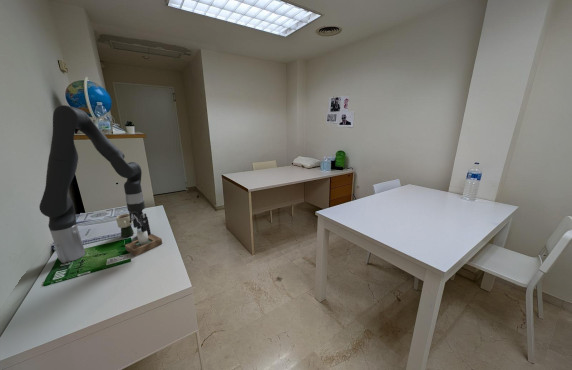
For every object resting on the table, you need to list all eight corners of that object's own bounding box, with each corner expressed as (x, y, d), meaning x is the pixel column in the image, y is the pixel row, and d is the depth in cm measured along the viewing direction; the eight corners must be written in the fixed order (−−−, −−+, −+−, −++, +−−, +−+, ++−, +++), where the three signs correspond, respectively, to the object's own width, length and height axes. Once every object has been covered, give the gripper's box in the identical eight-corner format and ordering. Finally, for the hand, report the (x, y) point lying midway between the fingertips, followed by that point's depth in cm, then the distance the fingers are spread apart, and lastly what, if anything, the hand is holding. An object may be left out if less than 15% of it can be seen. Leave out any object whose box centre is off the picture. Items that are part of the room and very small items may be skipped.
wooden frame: (135, 256, 108) (134, 250, 108) (126, 250, 113) (124, 245, 112) (162, 243, 120) (161, 238, 119) (152, 238, 125) (152, 233, 124)
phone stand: (138, 234, 129) (134, 217, 126) (150, 231, 133) (146, 214, 129) (139, 241, 122) (135, 222, 119) (151, 237, 126) (148, 219, 123)
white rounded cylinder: (141, 246, 113) (138, 232, 111) (137, 244, 115) (134, 230, 113) (150, 242, 117) (148, 228, 114) (146, 240, 119) (143, 226, 117)
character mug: (135, 237, 126) (131, 217, 123) (120, 241, 122) (115, 220, 119) (134, 230, 135) (130, 211, 131) (120, 233, 130) (115, 214, 127)
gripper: (120, 200, 109) (126, 228, 114) (133, 206, 102) (139, 235, 106) (136, 196, 115) (141, 223, 120) (150, 201, 108) (154, 230, 113)
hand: (140, 229), depth 113 cm, fingers open, 8 cm apart
